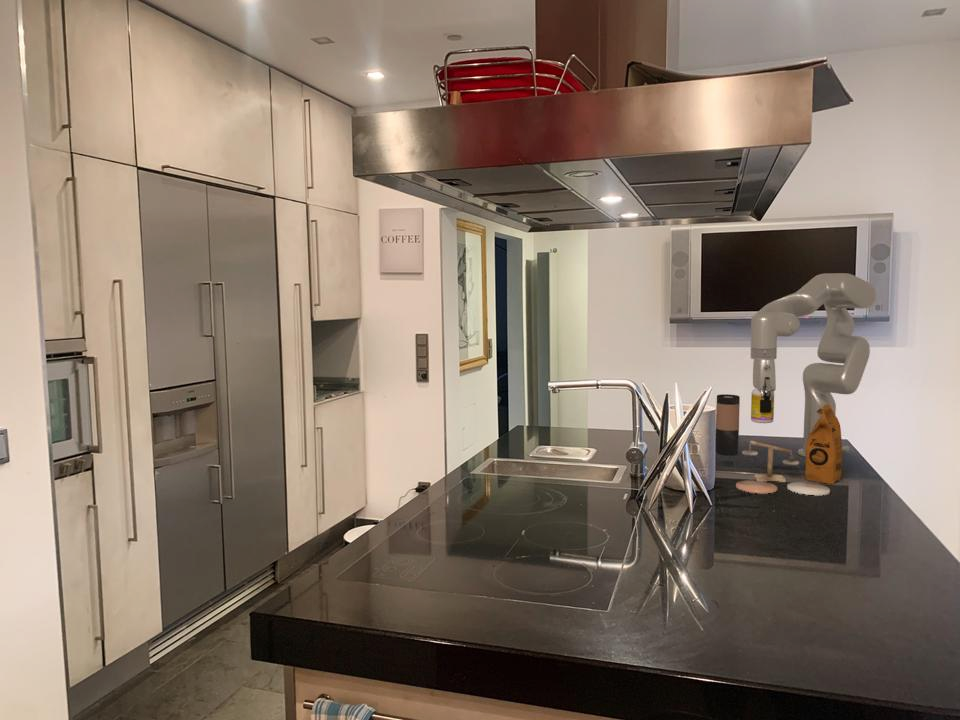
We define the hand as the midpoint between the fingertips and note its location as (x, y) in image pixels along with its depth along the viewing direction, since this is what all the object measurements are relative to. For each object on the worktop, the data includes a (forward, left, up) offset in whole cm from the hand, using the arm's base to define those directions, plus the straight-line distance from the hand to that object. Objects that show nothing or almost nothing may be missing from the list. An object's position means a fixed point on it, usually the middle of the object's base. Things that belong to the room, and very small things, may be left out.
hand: (762, 409), depth 223 cm
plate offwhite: (-8, +23, -19) cm, 31 cm away
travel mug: (+6, -21, -19) cm, 29 cm away
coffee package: (-15, +10, -19) cm, 27 cm away
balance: (0, +13, -19) cm, 23 cm away
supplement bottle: (0, 0, -4) cm, 4 cm away
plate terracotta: (+6, +23, -19) cm, 31 cm away
